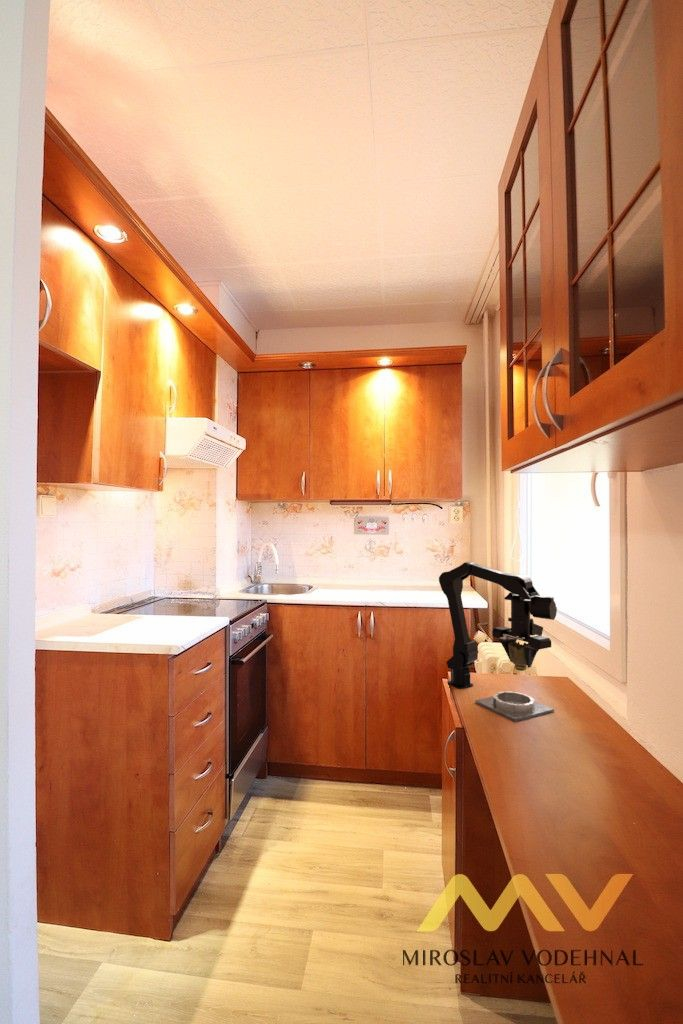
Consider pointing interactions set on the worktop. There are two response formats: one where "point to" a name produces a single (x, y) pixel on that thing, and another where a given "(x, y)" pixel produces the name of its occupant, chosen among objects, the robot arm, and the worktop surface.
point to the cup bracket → (514, 705)
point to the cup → (518, 655)
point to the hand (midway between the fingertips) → (520, 664)
